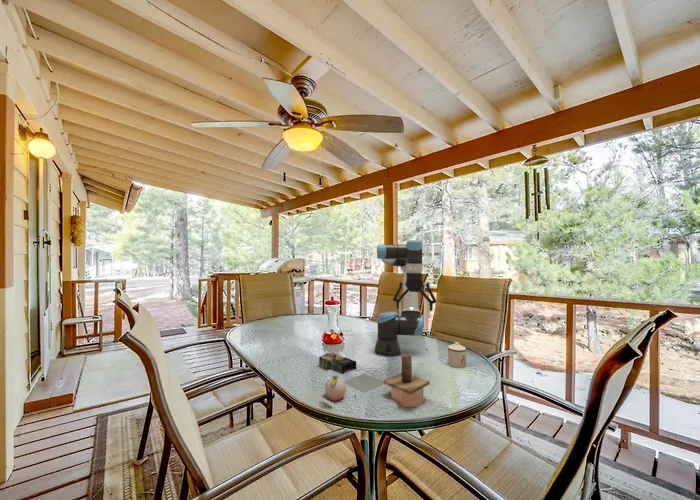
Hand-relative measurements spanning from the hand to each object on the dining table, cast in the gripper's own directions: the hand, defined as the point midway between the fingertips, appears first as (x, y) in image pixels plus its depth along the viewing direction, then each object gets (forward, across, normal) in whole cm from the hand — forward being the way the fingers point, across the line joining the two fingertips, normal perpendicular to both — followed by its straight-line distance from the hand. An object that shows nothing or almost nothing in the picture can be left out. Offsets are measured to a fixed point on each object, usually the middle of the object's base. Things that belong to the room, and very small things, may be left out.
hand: (414, 316), depth 144 cm
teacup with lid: (+29, +20, +22) cm, 41 cm away
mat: (+28, -20, -18) cm, 39 cm away
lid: (+22, -1, -25) cm, 33 cm away
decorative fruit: (+28, -27, -35) cm, 52 cm away
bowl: (+28, -1, -25) cm, 37 cm away
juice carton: (+29, -38, -4) cm, 48 cm away
